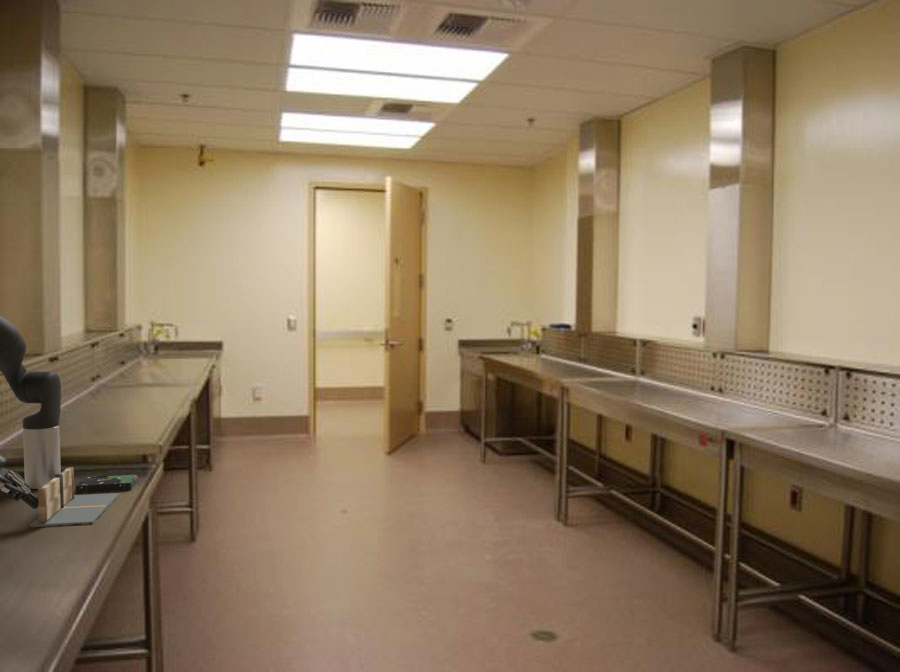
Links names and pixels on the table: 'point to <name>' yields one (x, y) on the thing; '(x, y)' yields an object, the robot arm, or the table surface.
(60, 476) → the fixed fence section
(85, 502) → the board
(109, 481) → the disk drive
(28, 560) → the table surface
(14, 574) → the table surface
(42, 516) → the hinged fence panel
